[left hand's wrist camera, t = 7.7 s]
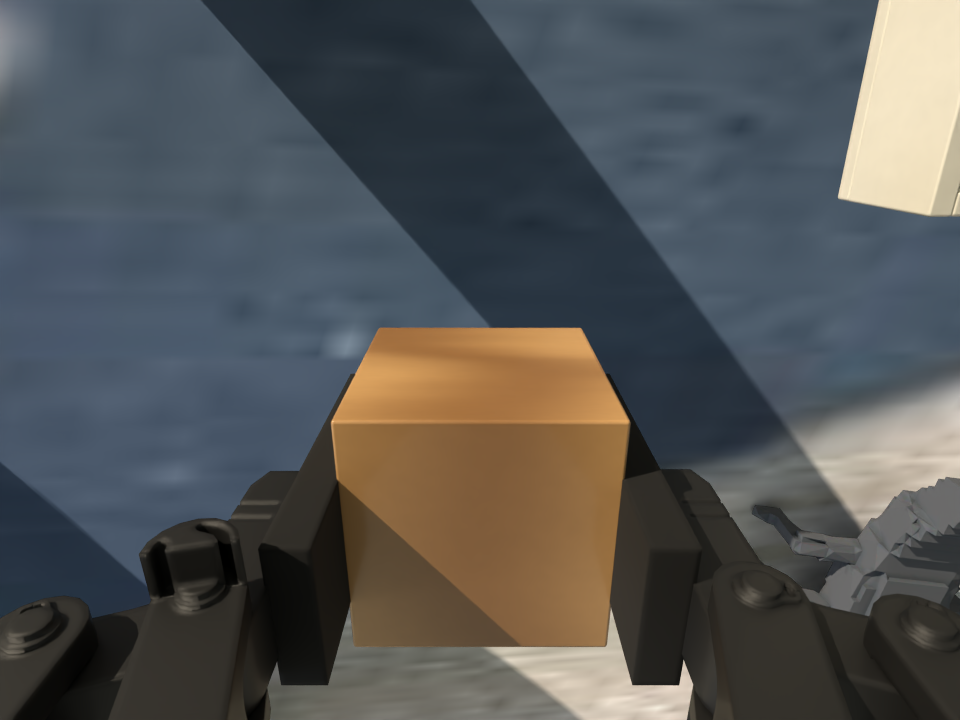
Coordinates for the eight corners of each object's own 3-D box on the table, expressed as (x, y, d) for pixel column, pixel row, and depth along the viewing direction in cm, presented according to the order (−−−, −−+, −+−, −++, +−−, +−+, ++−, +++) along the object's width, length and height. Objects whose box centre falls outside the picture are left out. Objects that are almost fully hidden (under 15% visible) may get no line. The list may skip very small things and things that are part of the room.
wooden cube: (389, 498, 16) (352, 648, 11) (378, 326, 14) (329, 421, 10) (570, 499, 16) (607, 648, 11) (582, 327, 14) (632, 421, 10)
